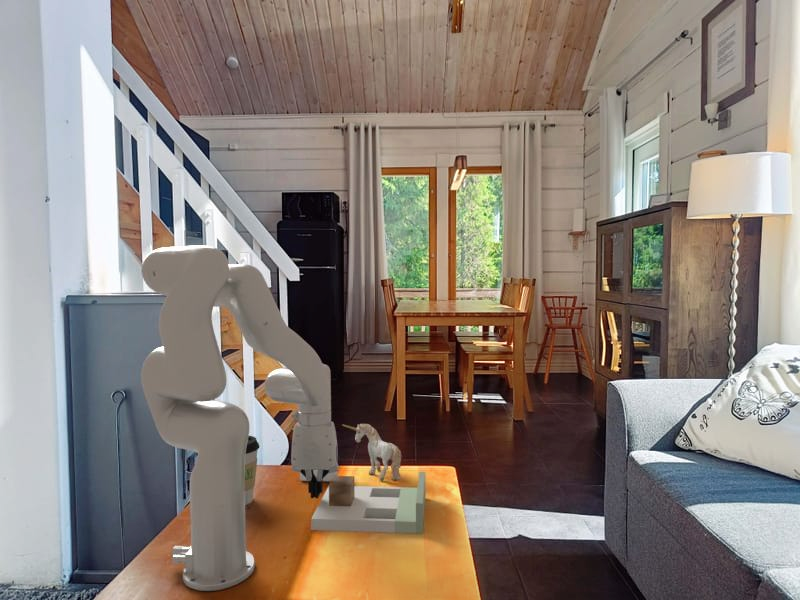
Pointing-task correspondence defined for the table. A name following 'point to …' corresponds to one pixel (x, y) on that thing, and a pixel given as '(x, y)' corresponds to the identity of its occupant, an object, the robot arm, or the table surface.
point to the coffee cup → (250, 468)
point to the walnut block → (341, 491)
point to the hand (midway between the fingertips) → (315, 495)
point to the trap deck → (375, 510)
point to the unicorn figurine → (379, 451)
